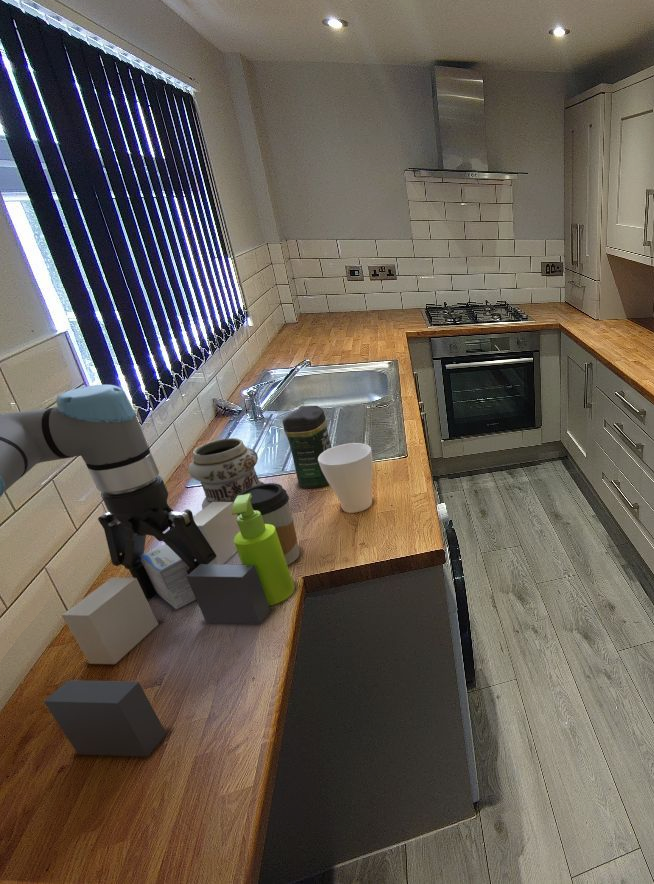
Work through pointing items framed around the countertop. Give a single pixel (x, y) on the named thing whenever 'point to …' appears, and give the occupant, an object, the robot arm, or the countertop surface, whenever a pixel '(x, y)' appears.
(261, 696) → the countertop surface
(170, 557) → the medicine box
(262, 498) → the coffee cup
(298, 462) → the coffee jar
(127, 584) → the white rectangular block
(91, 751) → the grey block near
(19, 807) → the countertop surface
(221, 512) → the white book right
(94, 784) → the countertop surface
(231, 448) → the apothecary jar
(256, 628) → the countertop surface
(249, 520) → the soap dispenser
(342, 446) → the cup
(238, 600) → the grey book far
